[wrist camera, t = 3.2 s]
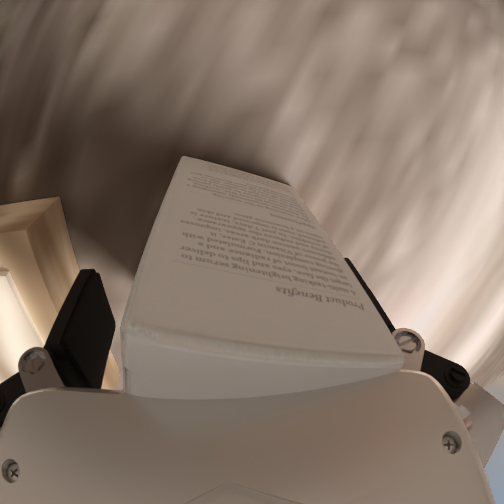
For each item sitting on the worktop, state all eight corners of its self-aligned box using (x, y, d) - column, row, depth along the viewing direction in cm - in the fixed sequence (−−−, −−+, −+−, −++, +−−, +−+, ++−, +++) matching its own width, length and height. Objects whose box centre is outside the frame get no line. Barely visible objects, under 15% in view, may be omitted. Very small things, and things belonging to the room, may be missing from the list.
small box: (243, 307, 18) (272, 481, 9) (150, 288, 16) (123, 473, 7) (296, 183, 14) (417, 363, 5) (181, 150, 12) (116, 332, 4)
